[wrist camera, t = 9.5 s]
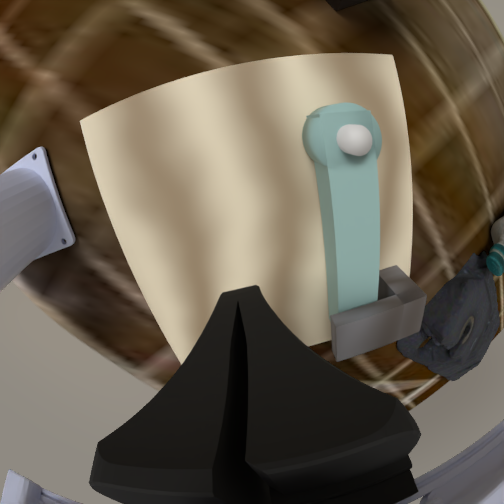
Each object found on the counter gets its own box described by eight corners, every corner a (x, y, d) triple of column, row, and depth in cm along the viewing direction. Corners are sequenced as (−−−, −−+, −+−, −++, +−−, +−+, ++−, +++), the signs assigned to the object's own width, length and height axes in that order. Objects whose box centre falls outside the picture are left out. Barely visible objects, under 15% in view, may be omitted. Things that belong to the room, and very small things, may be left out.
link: (296, 108, 14) (314, 103, 11) (357, 103, 14) (386, 100, 11) (323, 319, 21) (336, 349, 18) (368, 307, 21) (385, 333, 18)
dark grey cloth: (437, 382, 33) (449, 402, 29) (385, 336, 25) (404, 367, 21) (500, 317, 29) (515, 334, 24) (478, 235, 21) (507, 255, 17)
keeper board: (186, 363, 24) (181, 411, 19) (86, 120, 14) (39, 123, 9) (399, 308, 23) (428, 345, 18) (385, 57, 14) (433, 43, 9)
